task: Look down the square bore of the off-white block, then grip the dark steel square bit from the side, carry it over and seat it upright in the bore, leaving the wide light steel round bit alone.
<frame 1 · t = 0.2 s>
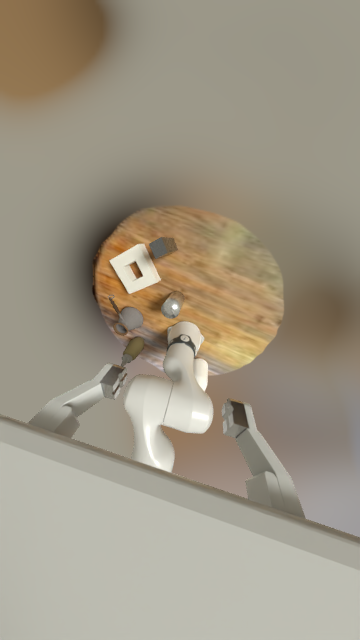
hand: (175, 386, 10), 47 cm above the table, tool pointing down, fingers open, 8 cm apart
squeeze bottle: (139, 340, 76), on the table
square bit: (170, 246, 48), on the table
coffee pot: (133, 306, 65), on the table
round bit: (176, 298, 58), on the table
wine bottle: (199, 363, 76), on the table
socket block: (138, 269, 55), on the table
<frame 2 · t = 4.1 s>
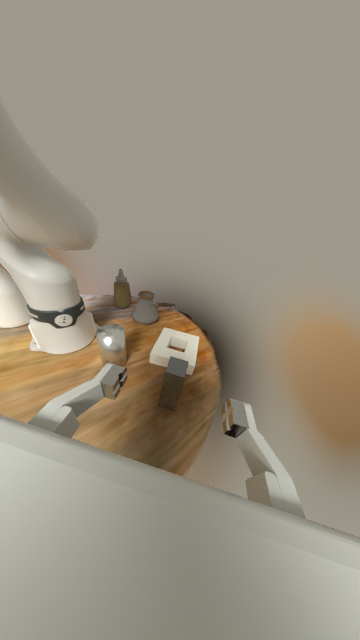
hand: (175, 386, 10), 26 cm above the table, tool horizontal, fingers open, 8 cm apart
squeeze bottle: (123, 305, 68), on the table
square bit: (168, 400, 34), on the table
coffee pot: (152, 325, 59), on the table
round bit: (115, 361, 41), on the table
wine bottle: (17, 321, 47), on the table
socket block: (175, 352, 48), on the table
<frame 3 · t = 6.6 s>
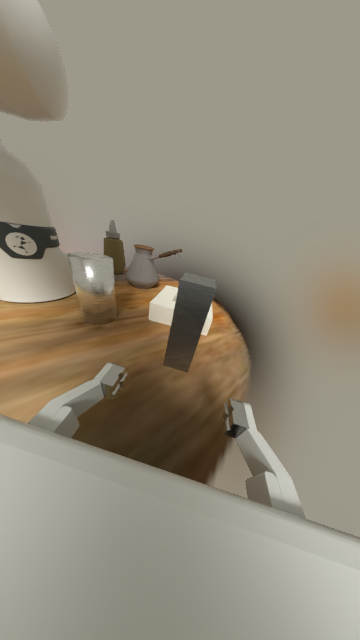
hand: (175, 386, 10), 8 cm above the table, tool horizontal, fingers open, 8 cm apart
squeeze bottle: (115, 272, 57), on the table
square bit: (177, 359, 23), on the table
coffee pot: (151, 289, 48), on the table
round bit: (100, 315, 29), on the table
socket block: (182, 313, 37), on the table
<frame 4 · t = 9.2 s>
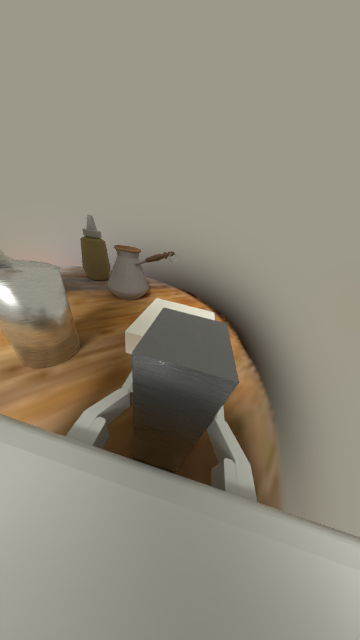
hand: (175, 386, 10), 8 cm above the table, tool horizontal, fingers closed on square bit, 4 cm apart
squeeze bottle: (98, 278, 48), on the table
square bit: (161, 437, 14), on the table, touching gripper
coffee pot: (139, 301, 39), on the table
round bit: (53, 349, 20), on the table
socket block: (175, 337, 28), on the table
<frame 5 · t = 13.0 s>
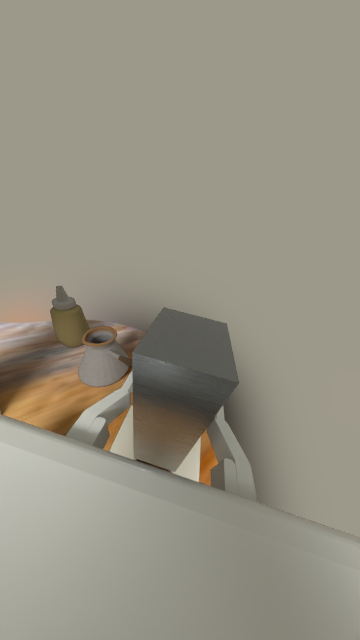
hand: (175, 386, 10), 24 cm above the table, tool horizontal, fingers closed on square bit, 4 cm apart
squeeze bottle: (76, 341, 42), on the table
square bit: (160, 437, 14), point 16 cm above the table, touching gripper
coffee pot: (117, 384, 34), on the table
socket block: (151, 471, 22), on the table
when the fingers open (9 cm above the table, at t = 16.8 s): square bit drops 1 cm, resting in socket block.
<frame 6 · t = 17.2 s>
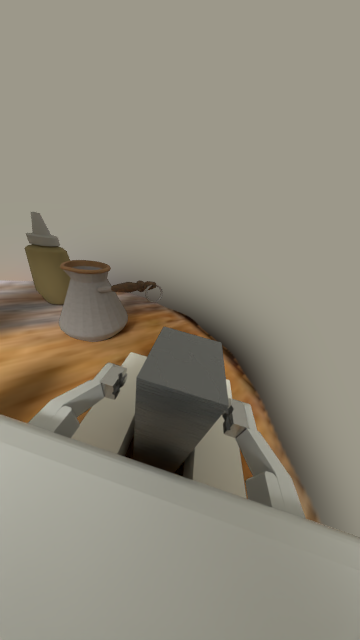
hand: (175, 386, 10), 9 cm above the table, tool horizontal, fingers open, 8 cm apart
squeeze bottle: (63, 300, 35), on the table
square bit: (158, 442, 15), resting in socket block
coffee pot: (112, 342, 26), on the table
socket block: (159, 442, 15), on the table
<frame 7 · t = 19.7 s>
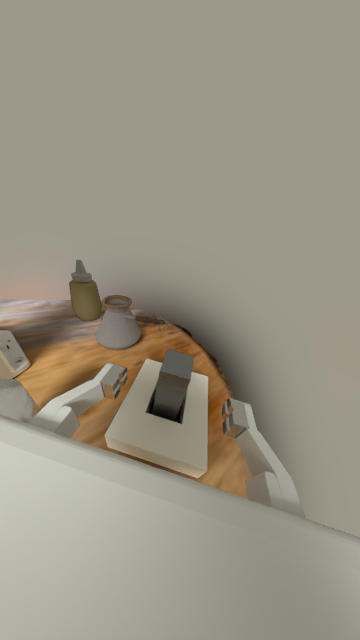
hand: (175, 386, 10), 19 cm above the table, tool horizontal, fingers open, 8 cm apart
squeeze bottle: (89, 317, 45), on the table
square bit: (164, 411, 26), resting in socket block
coffee pot: (130, 350, 37), on the table
round bit: (24, 454, 18), on the table
socket block: (165, 411, 26), on the table
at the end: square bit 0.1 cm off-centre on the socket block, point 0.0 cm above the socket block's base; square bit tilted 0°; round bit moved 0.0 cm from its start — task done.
